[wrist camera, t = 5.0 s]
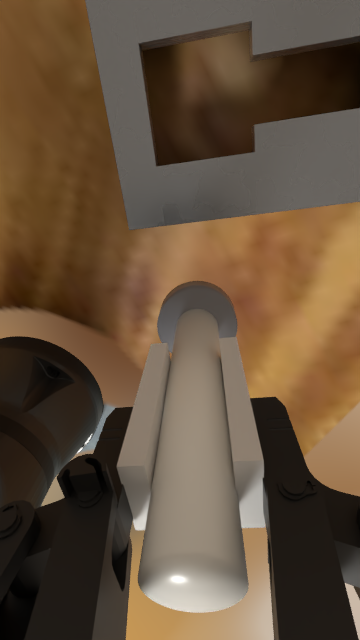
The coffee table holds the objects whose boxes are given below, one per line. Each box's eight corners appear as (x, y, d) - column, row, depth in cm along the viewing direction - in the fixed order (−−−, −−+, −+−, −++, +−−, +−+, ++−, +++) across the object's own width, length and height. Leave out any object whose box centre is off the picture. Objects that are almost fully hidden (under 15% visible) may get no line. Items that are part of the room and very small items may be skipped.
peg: (166, 350, 21) (113, 633, 8) (154, 285, 19) (61, 520, 6) (236, 345, 20) (297, 636, 8) (232, 277, 18) (305, 514, 6)
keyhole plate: (139, 222, 26) (129, 230, 22) (100, -1, 20) (77, -38, 17) (396, 189, 24) (430, 192, 20) (435, -74, 18) (493, -136, 14)
